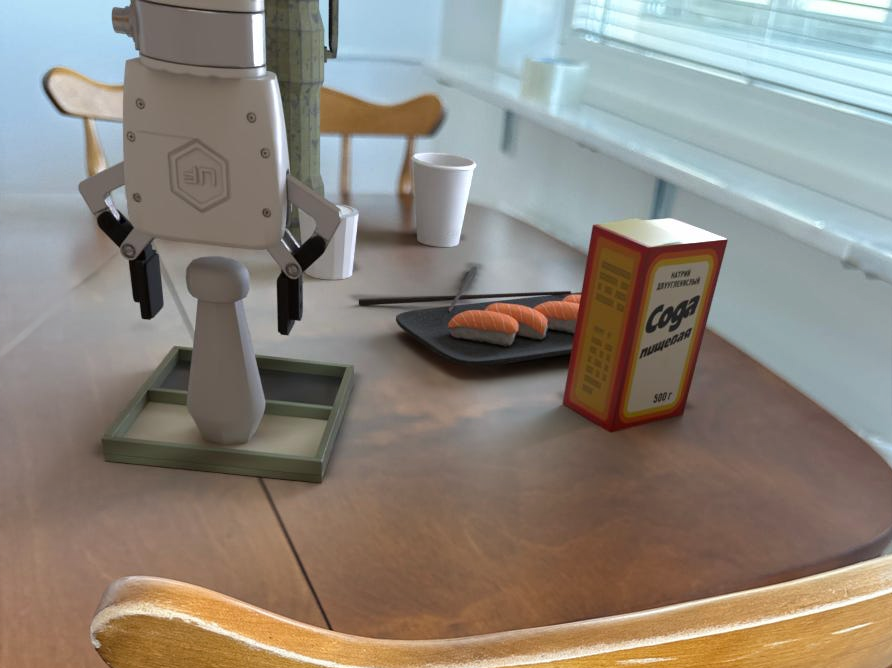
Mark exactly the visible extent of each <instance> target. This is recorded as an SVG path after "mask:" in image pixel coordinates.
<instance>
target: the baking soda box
mask: <svg viewBox="0 0 892 668" xmlns="http://www.w3.org/2000/svg"><path fill="white" fill-rule="evenodd" d="M589 239H590V240H589V246H588V250H587V251H588V252H587V258H586V263H585V267H584V268H585V270H584V275H583V281H582V287H581V291H580V292H581V298H580V304H579V310H578V316H577V322H576V327H575V333H574V339H573V345H572V351H571V354H570V357H569V364H568V370H567V375H566V381H565V386H564V393H563V400H562V405H563V406H565V407H568V408H569V409H571V410H572V411H574V412H576V413H577V414H579V415H581V416H582V417H584V418H585V419H588V420H589V421H591V422H592V423H594V424H596V425H597V426H599V427H601V428H603V429H605V430H606V431H607V432H609V433H613V432H617V431H621V430H625V429H629V428H633V427H637V426H641V425H645V424H650V423H653V422H657V421H662V420H665V419H669V418H673V417H677V416H681V415H684V413H685V409H686V405H687V401H688V397H689V394H690V390H691V385H692V382H693V377H694V373H695V370H696V366H697V362H698V358H699V354H700V351H701V346H702V343H703V339H704V335H705V330H706V326H707V323H708V319H709V315H710V311H711V307H712V304H713V299H714V295H715V291H716V288H717V284H718V281H719V276H720V272H721V269H722V264H723V261H724V257H725V253H726V249H727V245H728V241H729V239H728V238H726V237H724V236H722V235H718V234H716V233H713V232H710V231H707V230H705V229H703V228H700V227H696V226H694V225H692V224H689V223H687V222H684V221H680V220H678V219H675V218H673V217H669V218H655V219H641V218H639V217H634V218H633V217H632V218H627V219H622V220H616V221H609V222H603V223H596V224H592V228H591V233H590V238H589Z"/></svg>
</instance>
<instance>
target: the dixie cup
mask: <svg viewBox="0 0 892 668" xmlns="http://www.w3.org/2000/svg"><path fill="white" fill-rule="evenodd" d="M410 158H411V161H412V169H413V185H414V187H413V188H414V206H415V224H416V241H418V242H419V243H421V244H423V245H427V246H430V247H436V248H452V247H456V246H458V245H459V244H460V240H461V234H462V228H463V224H464V221H465V220H464V218H465V214H466V208H467V204H468V199H469V195H470V189H471V184H472V180H473V174H474V170H475V168H476V167H477V163H476V162H475V160H473V159H471V158H468V157H466V156H462V155H457V154H452V153H446V152H444V153H443V152H435V151H434V152H431V151H429V152H427V151H426V152H418V153H414V154H413V155H412V156H411V157H410Z"/></svg>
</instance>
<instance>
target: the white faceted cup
mask: <svg viewBox="0 0 892 668" xmlns="http://www.w3.org/2000/svg"><path fill="white" fill-rule="evenodd" d="M332 203H333V204H334V205H336V206H337V207H338V208H340V209H341V210H342V212H343V218H342V220H341V222H340V224H339V226H338V228H337V230H336V231H335V233H334V235H333V237H332V239H331V241H330V243H329V244H328V246H327V248H326V250H325V252H324V253H323V255H322V256H321V257H319V258H318V259H317V260H316V261H315V262H314V263H313V264H312V265H311V266H310V267H309V268H307V269H306V270H305V271H304V272H303V273H305V274H306V275H307V276H309V277H312V278H315V279H321V280H328V281H329V280H330V281H336V280H345V279H348V278H351V277H352V276H353V269H354V261H355V260H354V259H355V251H356V244H357V243H356V241H357V233H358V232H357V231H358V223H359V210H357V209H356V208H354V207H353V206H349V205H346V204H342V203H336V202H332ZM298 212H299V222H300V232H301V242H302V244H304V243H305V242H306V241H307V240H308V239H309V238H310V237H311V236H312V234H313V233H314V231H315V229H316V221H315V219H314V218H313V217H311V216H310V215H308V214H307V213H305V212H304V211H302V210H301V209H299V208H298Z"/></svg>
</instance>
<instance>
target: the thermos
mask: <svg viewBox="0 0 892 668" xmlns="http://www.w3.org/2000/svg"><path fill="white" fill-rule="evenodd" d="M339 1H340V0H328V24H327V25H328V28H327V29H328V36H327V37H328V38H327V39H328V46H326V45H325V26H324V23H323V19H322V16H321V11H320V0H264V12H265V43H266V71H270V72H273V73H275V74H276V76H277V81H278V85H279V90H280V95H281V100H282V107H283V113H284V120H285V127H286V137H287V146H288V156H289V167H290V175H292V176H293V177H295V178H296V179H298V180H299V181H301V182H302V183H304V184H305V185H306V186H308V187H309V188H311V189H312V190H314V191H315V192H317V193H318V194H320V195H321V196H322V197H324V198H325V184H324V180H323V178H322V174H321V91H322V88H323V84H324V82H325V64H327V63H328V60H329V59H330V60H332V59H337V56H338V49H339V48H338V47H339V15H340V14H339V9H340V7H339V5H340V4H339V3H340V2H339ZM288 230H289V232H290V233H291V234H292V236H293V237H294V238H295V240H296V241H297V242H298V244H299V245H300V246H301V245H302V242H301V232H300V222H299V212H298V207H296V206H295V205H293V204H292V216H291V224H290V227H289V228H288Z"/></svg>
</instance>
